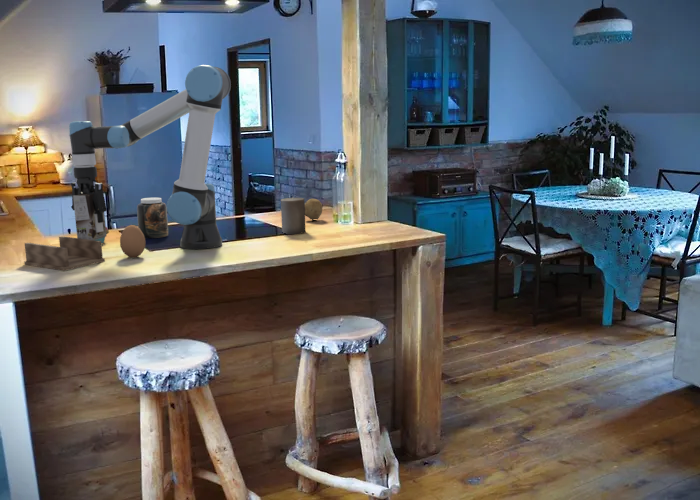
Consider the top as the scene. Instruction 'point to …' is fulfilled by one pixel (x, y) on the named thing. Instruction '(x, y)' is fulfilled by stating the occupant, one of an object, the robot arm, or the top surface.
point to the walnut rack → (64, 254)
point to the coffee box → (86, 218)
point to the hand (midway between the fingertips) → (91, 231)
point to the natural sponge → (313, 208)
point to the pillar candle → (293, 215)
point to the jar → (152, 218)
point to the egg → (132, 241)
